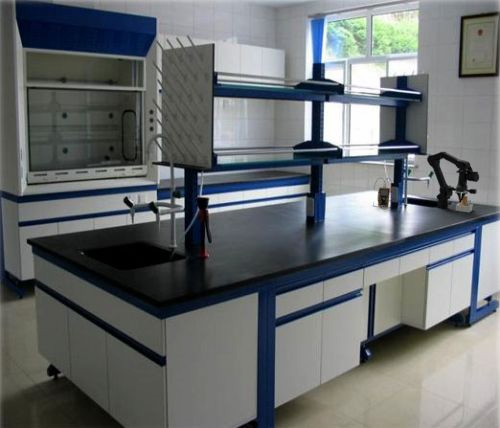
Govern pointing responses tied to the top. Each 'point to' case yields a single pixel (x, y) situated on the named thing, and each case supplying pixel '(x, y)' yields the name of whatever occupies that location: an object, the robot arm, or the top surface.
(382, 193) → the multimeter
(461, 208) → the socket block
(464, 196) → the plug
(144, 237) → the top surface
